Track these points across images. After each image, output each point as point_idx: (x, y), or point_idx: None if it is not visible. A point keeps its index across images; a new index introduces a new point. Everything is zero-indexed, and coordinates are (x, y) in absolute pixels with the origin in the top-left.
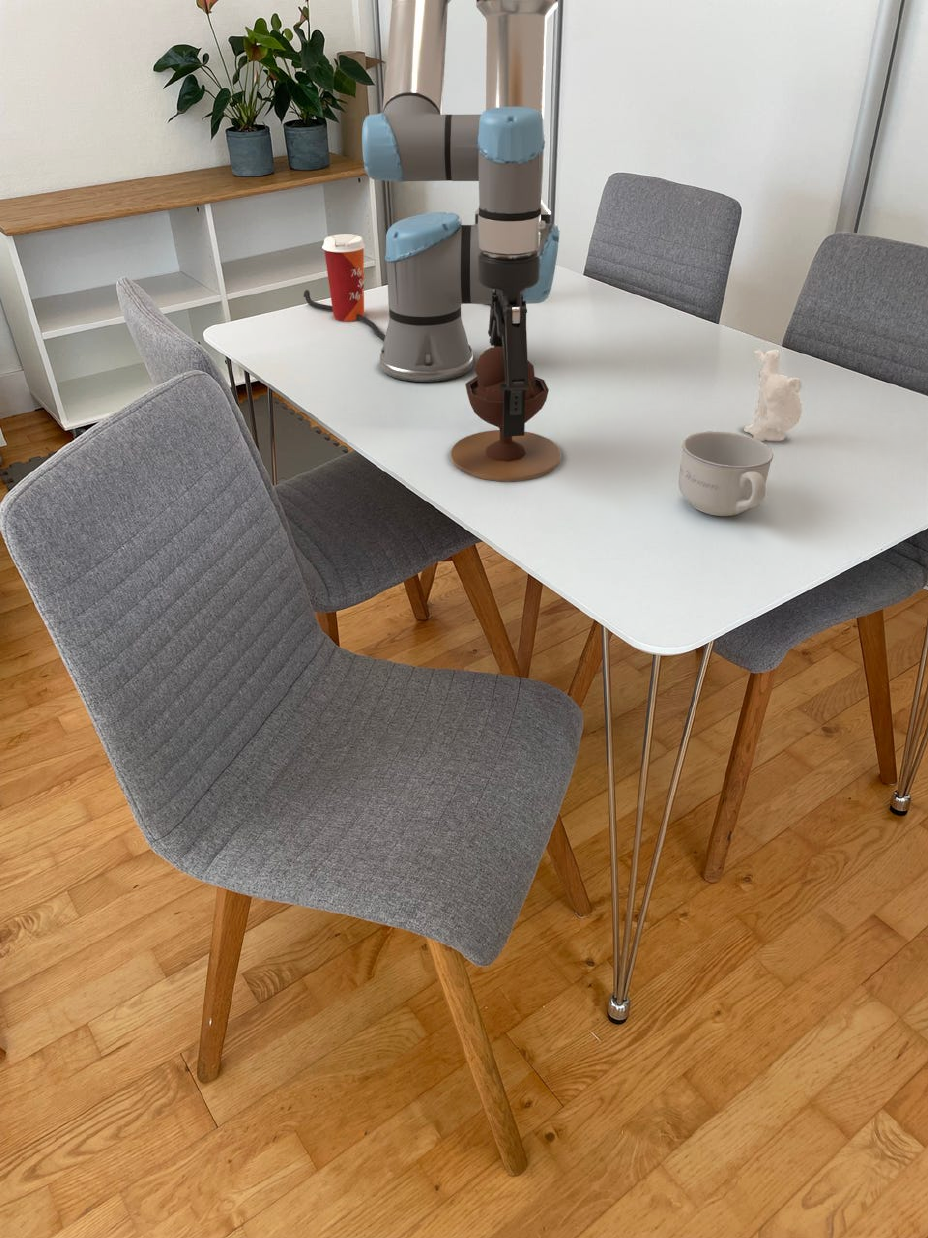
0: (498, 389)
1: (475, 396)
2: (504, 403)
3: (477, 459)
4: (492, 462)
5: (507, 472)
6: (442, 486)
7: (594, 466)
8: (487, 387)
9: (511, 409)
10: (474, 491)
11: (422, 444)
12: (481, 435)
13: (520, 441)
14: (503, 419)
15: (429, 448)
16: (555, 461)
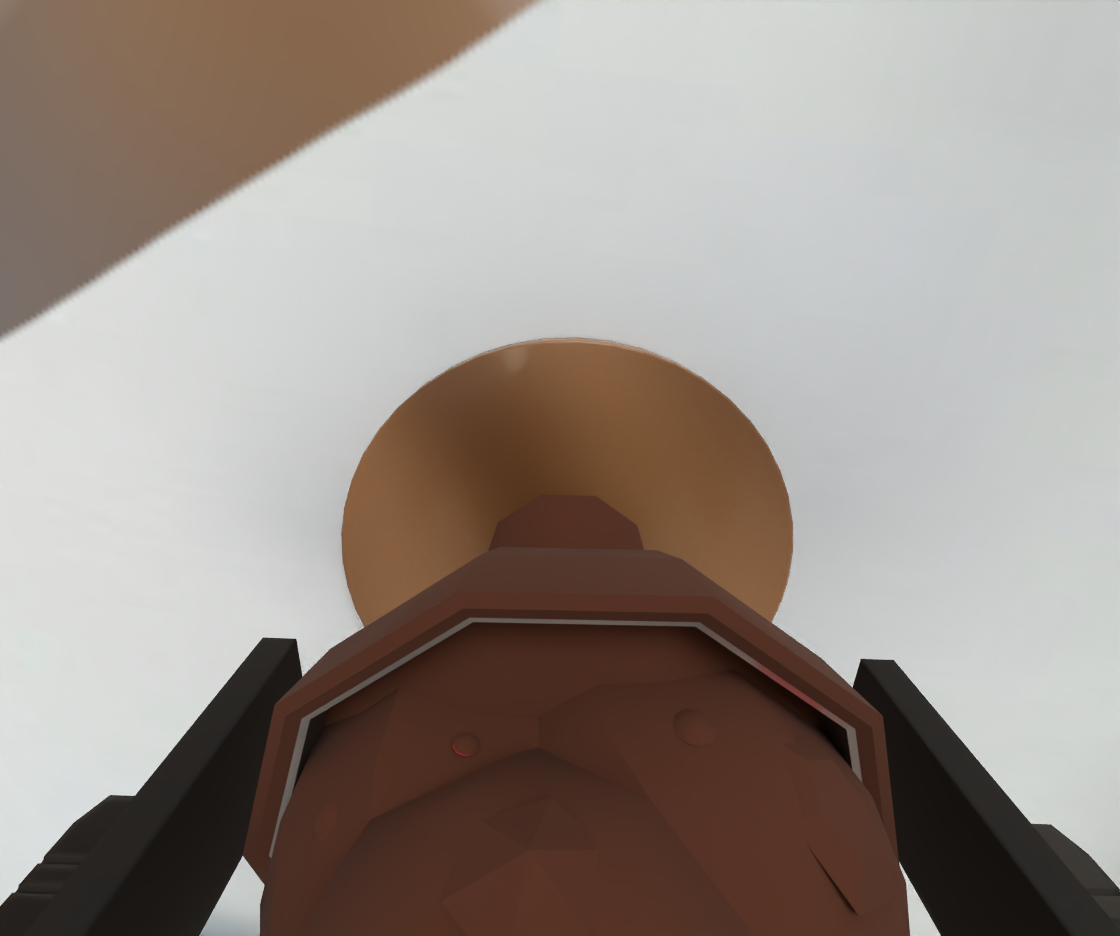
0: (287, 872)
1: (388, 641)
2: (103, 838)
3: (516, 450)
4: (479, 506)
5: (385, 547)
6: (304, 259)
7: None
8: (422, 785)
9: (58, 847)
10: (260, 396)
11: (774, 209)
12: (754, 501)
13: None
14: (206, 717)
15: (719, 242)
16: None
